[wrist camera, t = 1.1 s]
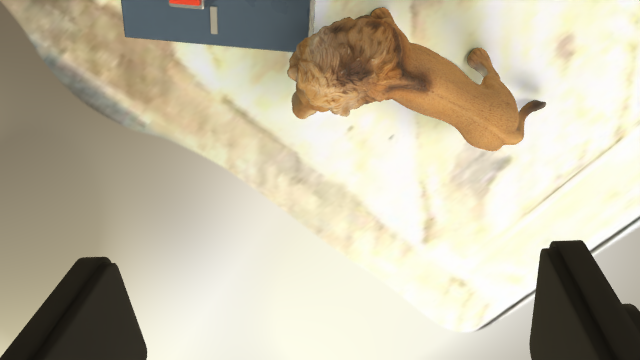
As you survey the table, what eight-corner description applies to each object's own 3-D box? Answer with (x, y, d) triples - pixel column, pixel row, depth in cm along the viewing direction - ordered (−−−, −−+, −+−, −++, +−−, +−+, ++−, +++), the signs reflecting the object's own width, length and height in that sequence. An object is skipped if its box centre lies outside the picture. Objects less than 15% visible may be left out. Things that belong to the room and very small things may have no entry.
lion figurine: (294, 73, 32) (267, 130, 24) (316, -17, 29) (295, 14, 21) (523, 138, 32) (572, 216, 24) (564, 56, 30) (634, 112, 22)
